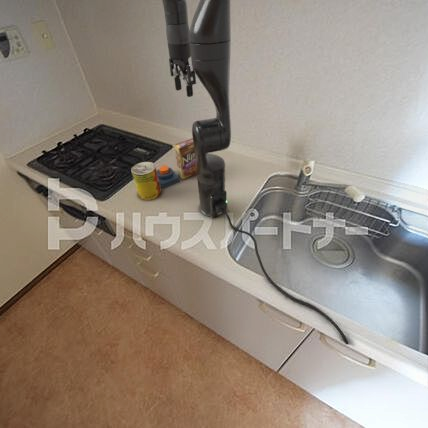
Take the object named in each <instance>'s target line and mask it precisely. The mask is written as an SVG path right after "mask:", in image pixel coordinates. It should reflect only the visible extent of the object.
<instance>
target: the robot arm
mask: <svg viewBox="0 0 428 428" xmlns="http://www.w3.org/2000/svg"><path fill="white" fill-rule="evenodd" d="M161 2H162V6H163V12H164V19H165V33H166V40H167V41H166V42H167V48H168V57H169V58H168V64H169V73H170V77H172V78H173V80H174V87H175V91H177V92H178V91H181V90H182V88H183V87H182V81H181V79H182V80H183V82H184V83H185V91H186V97H187V98H191V97H193V96H194V89H193V86H194V85H196V84H197V79H198V80H199V81H200V83H201V85H202V86H203V88H204V89H205V90H206V92H207V93H208V95H209V97H210V98H211V100H212V102H213V105H214V107H215V112H216V113H215V115H216V117H213V118H207V119H199V120H195V121H194V122H193V123H192V125H191V135H192V136H191V138H193V143H194V150H195V158H196V167H197V174H196V176H197V189H198V199H199V211H200V212H201V214H203V215H204V216H208V217H210V218H212V219H214V218H216V217H218V216H220V215H222V214H224V215H225V217H226V218H227V220H228V224H229V226H230V227H231V228H232V230H234V231H236V232H239V233H241V234H244V235H247V236H249V237H250V239H252V241H253V245H254V251H255V255H256V258H257V260H258V263H259V267H260V269H261V271H262V273H263V275H264V276H265V278H266V279H267V280H268V281H269V283H270V284H271V285H272V287H274V288H275V289H276V290H278V291H279V292H280V293H281V294H283V295H284V296H285V297H287V298H288V299H290V300H292V301H294V302H296V303H298V304H301V305H304V306H306V307H309V308H311V309H313V310H314V311H315V312H317V313H319V315H321V316H322V317H324V318H325V319H326V320H327V321H328V322H329V323H330V324H331V325H332V326H333V327H334V328H335V330H337V332H338V333H339V334H340V337H341V338H342V340H343V342H344V344H345V345H349V341H348V339H347V337H346V335H345V333H344V332H343V330H342V329H341V328H340V327H339V326H338V324H337V323H336V322H335V321H334V320H333V319H332V318H331V317H329V316H328V315H327V314H326V313H325V312H324V311H322V310H321V309H319V308H318V307H317V306H315V305H313V304H311V303H309V302H307V301H305V300H301V299H300V298H296V297H294V296H292V295H291V294H289V293H288V292H286V291H285V290H284V289H282V287H279V286H278V285H277V284H276V283H275V282H274V280H273V279H272V278H271V277H270V276H269V275H268V272H267V271H266V270H265V266H264V265H263V262H262V260H261V256H260V253H259V250H258V244H257V241H256V238H255V237H254V235H252V234H251V233H250V232H248V231H245V230H242V229H239V228H236V227H235V226H234V225H233V223H232V219H231V217H230V216H229V215H228V213H227V210H228V200H227V190H226V162H225V159H224V158H223V157H222V156H220V155H217V154H213V153H215V152H220V151H224V150H227V149H228V148H230V145H231V141H232V121H231V106H230V105H231V103H230V80H231V79H230V77H231V76H230V75H231V48H232V47H231V46H232V45H231V43H232V41H231V40H232V37H231V36H232V35H231V34H232V31H231V29H232V28H231V26H232V25H231V23H232V22H231V19H232V18H231V0H199V2H198V5H197V7H196V9H195V12H194V14H193V16H192V19H191V23H190V25H189V13H188V3H187V0H161ZM189 59H190V60H191V64H190V61H189Z"/></svg>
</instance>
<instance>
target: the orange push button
mask: <svg viewBox="0 0 428 428" xmlns="http://www.w3.org/2000/svg"><path fill="white" fill-rule="evenodd" d="M156 171H157V175H158V179H159V183H160V188H161V189H165V188H167V187H170V186H172V185H174V184H177V183H180V176H179V175H178V174H176V173H175V172H174V170H173V169H172V167H169V173H168V174H166V175H161V174H160V171H159V168H158V169H156Z"/></svg>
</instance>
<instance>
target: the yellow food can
mask: <svg viewBox="0 0 428 428" xmlns="http://www.w3.org/2000/svg"><path fill="white" fill-rule="evenodd" d="M130 172H131V174H132V178H133V180H134V184H135V187H136V190H137V193H138V196H139V198H140V199H142V200H144V201H151V200H155V199H157V198H159V196H160V195H161V194H162V187H161V186H160V183H159V179H158V175H157V167H156V164H155V163H154V162H152V161H148V160H147V161H145V160H143V161H140V162H137V163H135V164H134V165H133V166H132V167H131V168H130Z"/></svg>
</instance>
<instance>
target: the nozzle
mask: <svg viewBox="0 0 428 428" xmlns="http://www.w3.org/2000/svg"><path fill="white" fill-rule="evenodd" d="M169 168H170V166H168V165H162V166H160V167H158V169H159V171H160V174H161V175H166V174H168V173H169Z"/></svg>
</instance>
